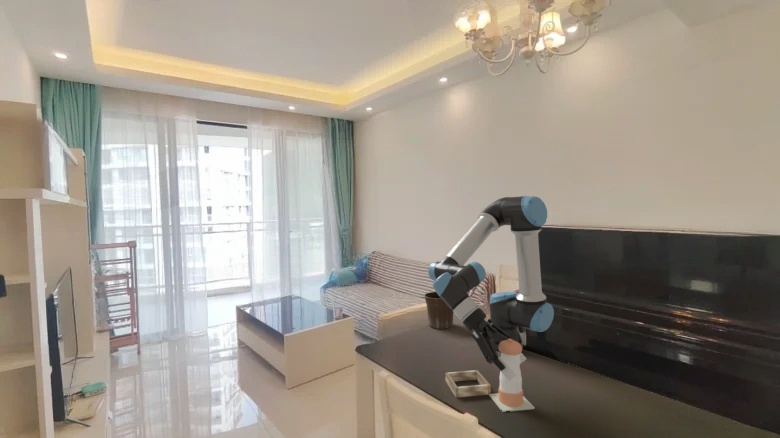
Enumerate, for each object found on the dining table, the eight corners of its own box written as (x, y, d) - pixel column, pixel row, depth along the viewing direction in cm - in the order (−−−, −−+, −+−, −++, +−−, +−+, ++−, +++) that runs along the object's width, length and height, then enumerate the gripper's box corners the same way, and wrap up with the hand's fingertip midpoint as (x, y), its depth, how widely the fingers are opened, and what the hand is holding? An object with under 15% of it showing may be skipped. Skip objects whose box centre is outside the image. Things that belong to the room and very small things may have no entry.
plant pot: (423, 330, 187) (422, 298, 186) (425, 320, 202) (425, 291, 202) (456, 331, 184) (456, 298, 183) (456, 321, 200) (455, 291, 199)
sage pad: (518, 392, 121) (518, 391, 121) (534, 409, 111) (534, 407, 111) (489, 395, 120) (489, 394, 120) (502, 412, 110) (502, 410, 110)
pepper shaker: (501, 392, 121) (500, 333, 120) (525, 397, 117) (524, 337, 117) (496, 402, 114) (495, 340, 114) (520, 408, 111) (519, 344, 110)
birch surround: (477, 378, 132) (477, 370, 132) (490, 394, 121) (490, 385, 121) (445, 381, 131) (445, 372, 131) (456, 397, 119) (455, 388, 119)
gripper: (475, 312, 134) (519, 361, 126) (447, 331, 113) (497, 393, 105) (489, 298, 131) (535, 349, 123) (463, 316, 110) (517, 378, 102)
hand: (518, 369), depth 114 cm, fingers open, 13 cm apart
